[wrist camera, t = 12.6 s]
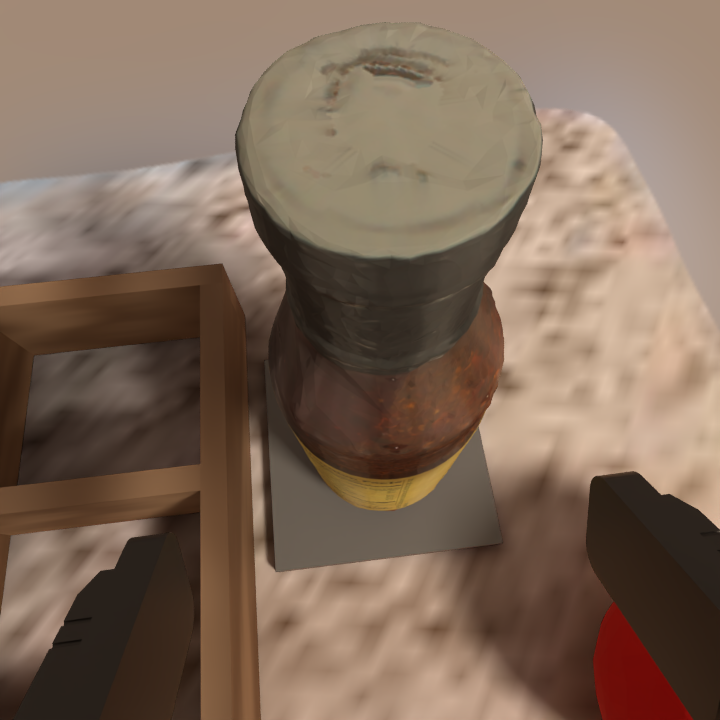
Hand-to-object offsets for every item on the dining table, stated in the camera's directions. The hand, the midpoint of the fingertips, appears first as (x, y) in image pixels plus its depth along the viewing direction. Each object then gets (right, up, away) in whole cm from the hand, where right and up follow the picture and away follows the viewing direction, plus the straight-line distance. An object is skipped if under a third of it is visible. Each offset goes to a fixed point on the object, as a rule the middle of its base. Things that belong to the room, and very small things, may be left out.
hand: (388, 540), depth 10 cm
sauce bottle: (0, -1, +15) cm, 15 cm away
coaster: (0, -1, +16) cm, 16 cm away
